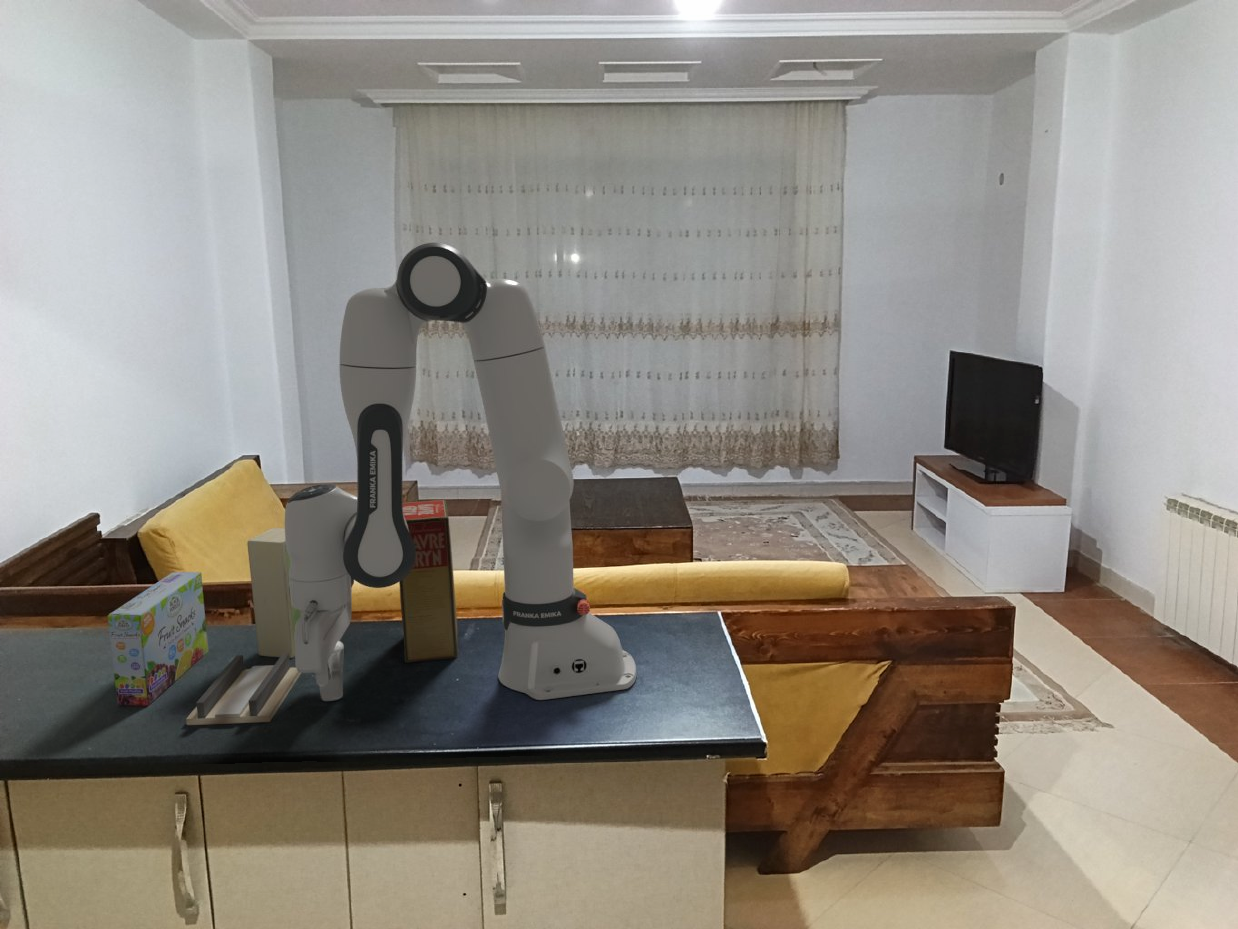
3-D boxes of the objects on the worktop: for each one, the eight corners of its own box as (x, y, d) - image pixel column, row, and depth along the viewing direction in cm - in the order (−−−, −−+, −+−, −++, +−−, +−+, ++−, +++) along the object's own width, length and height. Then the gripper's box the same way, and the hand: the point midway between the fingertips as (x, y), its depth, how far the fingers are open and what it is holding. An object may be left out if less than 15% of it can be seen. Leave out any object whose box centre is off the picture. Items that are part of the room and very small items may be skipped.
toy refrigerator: (296, 659, 158) (285, 542, 154) (257, 656, 159) (245, 540, 155) (319, 641, 166) (309, 529, 161) (282, 638, 167) (272, 527, 163)
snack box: (152, 707, 141) (140, 614, 138) (116, 707, 141) (103, 615, 138) (211, 651, 162) (202, 569, 159) (179, 651, 162) (169, 570, 159)
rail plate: (301, 672, 152) (299, 653, 152) (269, 721, 136) (267, 699, 135) (227, 675, 152) (225, 655, 151) (186, 725, 135) (183, 703, 134)
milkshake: (329, 688, 147) (324, 628, 145) (353, 694, 144) (348, 633, 142) (306, 698, 143) (301, 637, 141) (330, 705, 140) (325, 643, 139)
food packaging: (404, 633, 168) (395, 501, 163) (456, 629, 170) (449, 498, 165) (403, 663, 156) (393, 521, 150) (459, 657, 157) (451, 517, 152)
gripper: (324, 615, 130) (332, 705, 133) (356, 569, 150) (362, 648, 153) (279, 616, 130) (287, 707, 132) (316, 570, 150) (323, 650, 152)
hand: (328, 675), depth 143 cm, fingers closed on milkshake, 4 cm apart
